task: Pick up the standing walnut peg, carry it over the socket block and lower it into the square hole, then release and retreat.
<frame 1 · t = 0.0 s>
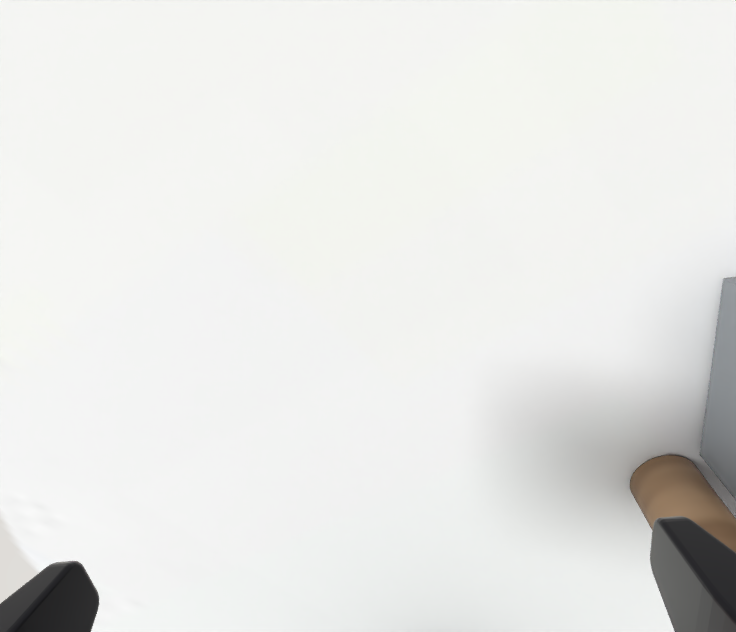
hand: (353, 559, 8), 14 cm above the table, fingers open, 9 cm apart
peg: (663, 481, 25), on the table
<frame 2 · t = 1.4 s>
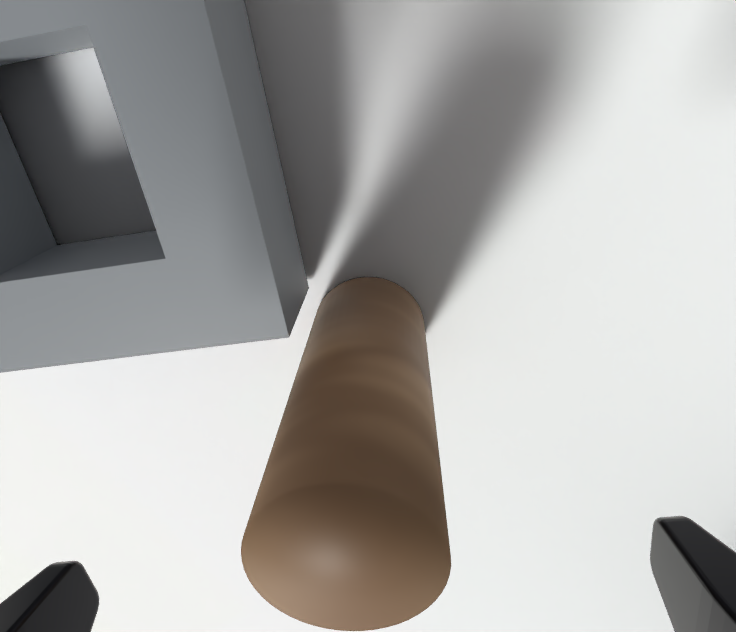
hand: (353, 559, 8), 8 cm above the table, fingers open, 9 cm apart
peg: (369, 328, 15), on the table
socket: (101, 149, 13), on the table
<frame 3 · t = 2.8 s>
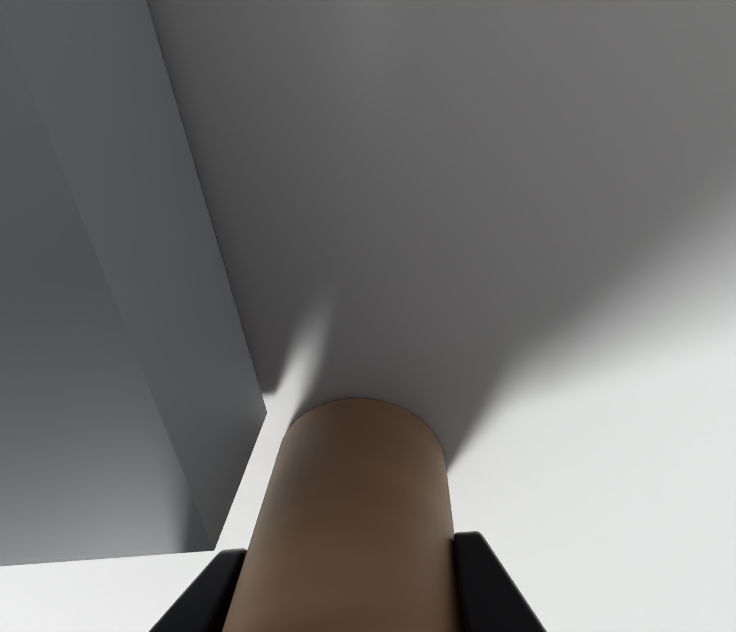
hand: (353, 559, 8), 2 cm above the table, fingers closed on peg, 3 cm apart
peg: (361, 468, 10), on the table, touching gripper
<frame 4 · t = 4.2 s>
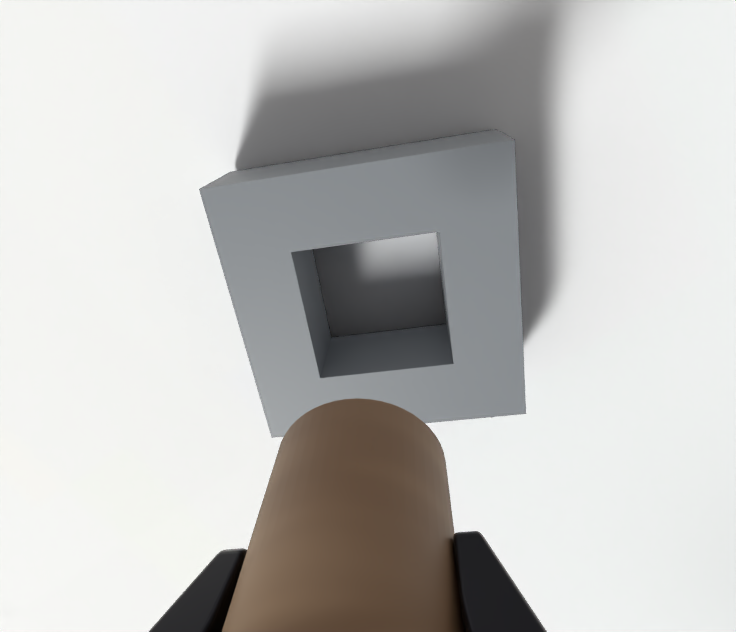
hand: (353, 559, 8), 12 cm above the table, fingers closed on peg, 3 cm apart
peg: (361, 468, 10), point 10 cm above the table, touching gripper
socket: (379, 276, 19), on the table
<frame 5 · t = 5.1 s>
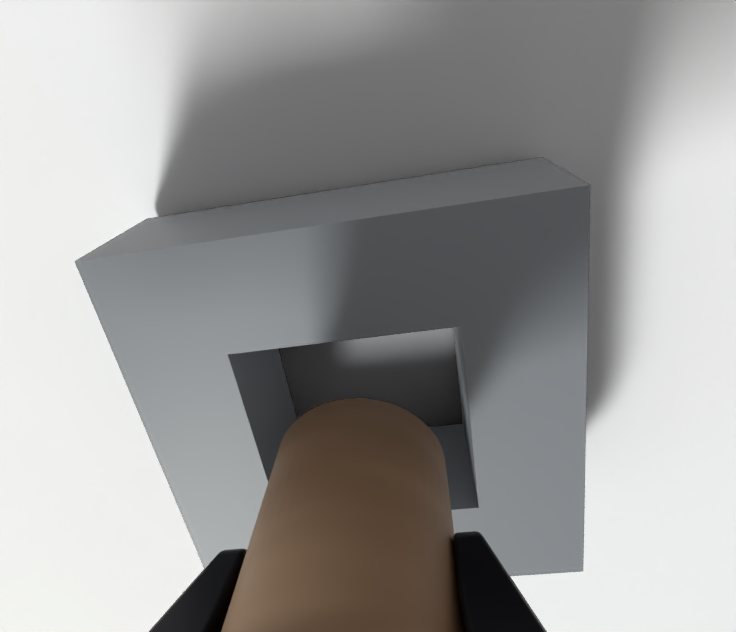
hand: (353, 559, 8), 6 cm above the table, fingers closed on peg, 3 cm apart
peg: (361, 468, 10), point 4 cm above the table, touching gripper
socket: (368, 362, 13), on the table
when the fingers open (4 cm above the table, at t = 5.7 s): peg drops 2 cm, resting in socket.
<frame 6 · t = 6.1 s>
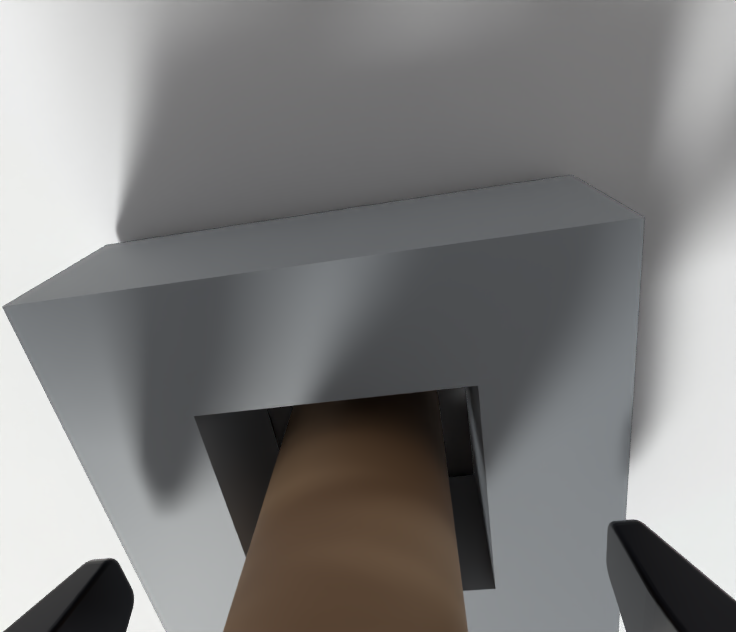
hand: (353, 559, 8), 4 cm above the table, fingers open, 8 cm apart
peg: (367, 406, 12), resting in socket
socket: (365, 407, 12), on the table
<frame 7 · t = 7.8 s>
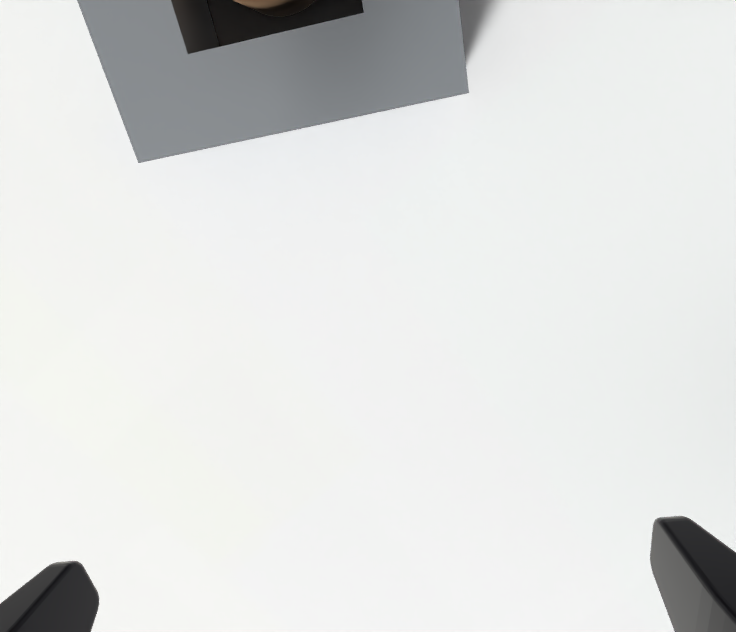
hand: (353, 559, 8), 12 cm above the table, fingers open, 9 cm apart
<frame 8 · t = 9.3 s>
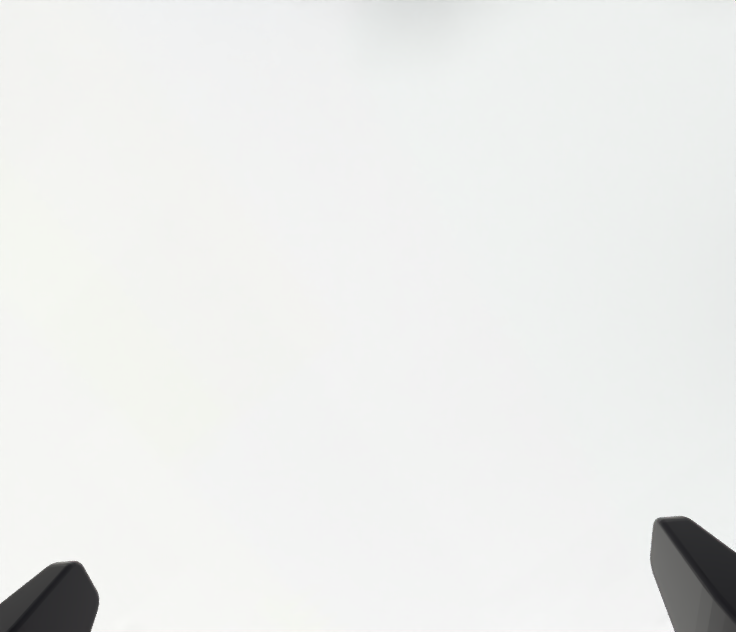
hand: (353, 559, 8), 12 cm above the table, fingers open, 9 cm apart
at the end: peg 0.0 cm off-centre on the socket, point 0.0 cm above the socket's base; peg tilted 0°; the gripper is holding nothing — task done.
